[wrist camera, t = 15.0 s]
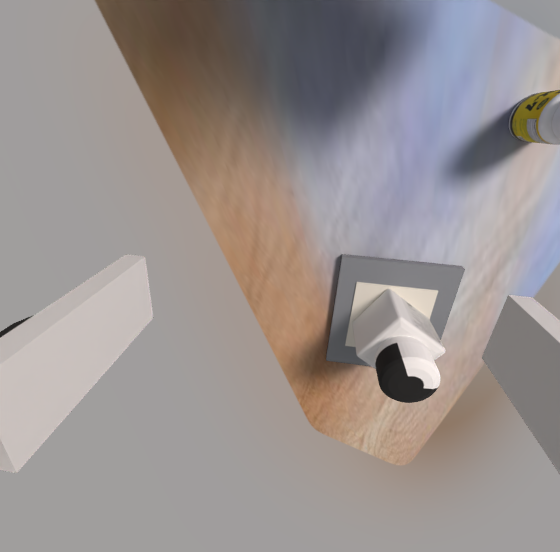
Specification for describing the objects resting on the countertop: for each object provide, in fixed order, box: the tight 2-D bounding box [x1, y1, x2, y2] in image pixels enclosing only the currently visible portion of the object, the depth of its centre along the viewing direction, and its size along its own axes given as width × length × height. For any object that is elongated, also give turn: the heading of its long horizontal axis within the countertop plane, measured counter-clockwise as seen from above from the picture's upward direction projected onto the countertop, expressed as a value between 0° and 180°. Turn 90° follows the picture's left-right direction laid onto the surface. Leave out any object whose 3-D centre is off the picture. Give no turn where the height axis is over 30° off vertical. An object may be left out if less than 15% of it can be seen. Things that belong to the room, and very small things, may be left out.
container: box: [352, 289, 445, 403], centre depth 41 cm, size 8×8×13 cm
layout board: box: [326, 254, 465, 366], centre depth 47 cm, size 18×16×1 cm
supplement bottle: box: [509, 90, 560, 144], centre depth 31 cm, size 5×5×8 cm
